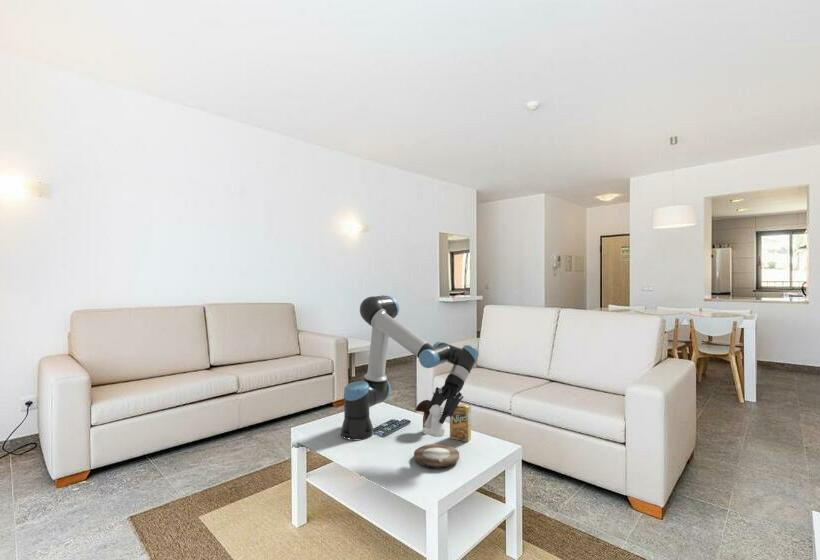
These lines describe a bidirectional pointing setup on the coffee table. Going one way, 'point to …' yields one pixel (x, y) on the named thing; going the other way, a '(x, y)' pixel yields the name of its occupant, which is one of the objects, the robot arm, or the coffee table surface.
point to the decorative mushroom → (424, 410)
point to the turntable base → (436, 466)
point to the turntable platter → (436, 455)
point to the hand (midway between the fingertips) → (430, 428)
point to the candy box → (461, 423)
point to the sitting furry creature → (435, 413)
